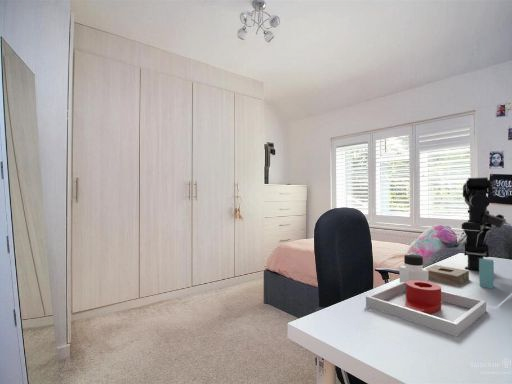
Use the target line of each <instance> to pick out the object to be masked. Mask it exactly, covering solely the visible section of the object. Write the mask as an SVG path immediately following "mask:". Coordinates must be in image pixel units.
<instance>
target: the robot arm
mask: <svg viewBox="0 0 512 384" xmlns="http://www.w3.org/2000/svg"><path fill="white" fill-rule="evenodd" d="M493 190H494V189H493V183H492V182H491V180H490V179H488V177H487V176H486V177H485V176H484V177H482V176H481V177H478V176H477V177H476V176H475V177H468V178H467V180H466V181H465V183H464V184H463V186H462V198H464V203H465V204H466V205H467V206H468V210H467V214H468V220H467V221H465V222H463V223H462V224H461V230H462V231H463V232H464V234H465V235H466V237H465V241H464V242H463V243H464V244H463V256H467V266H465V267H464V270H472V271H478V272H479V258H481V259H484V258H490V249H491V247H490V246H489V244H488V243H487V241H486V237H487V234H488V232H489V231H491V230H492V229H493V228H494V227H496V228H499V229H500V228H503V227H504V225H505V224H506V221H507V220H506V218H505V216H504V215H502V214H500V213H499V214H497V215H496V216H495V215H493V214H490V211H489V210H488V207H489V206H490V203H491V200H490V198H489V197H488V196H487V195H489V194H492V193H493V192H494V191H493Z"/></svg>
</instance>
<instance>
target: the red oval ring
mask: <svg viewBox="0 0 512 384" xmlns="http://www.w3.org/2000/svg"><path fill="white" fill-rule="evenodd" d="M441 291H442V287H441V285H439V284H438V283H435V282H431V281H429V282H427V281H421V280H410V281H407V282H406V291H405V303H404V304H405V306H404V307H406V308H410V309H413V310H416V311H419V312H423V313H426V314H429V315H432V316H433V315H435V314H436V313H438V312H441V311H442V301H441Z"/></svg>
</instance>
